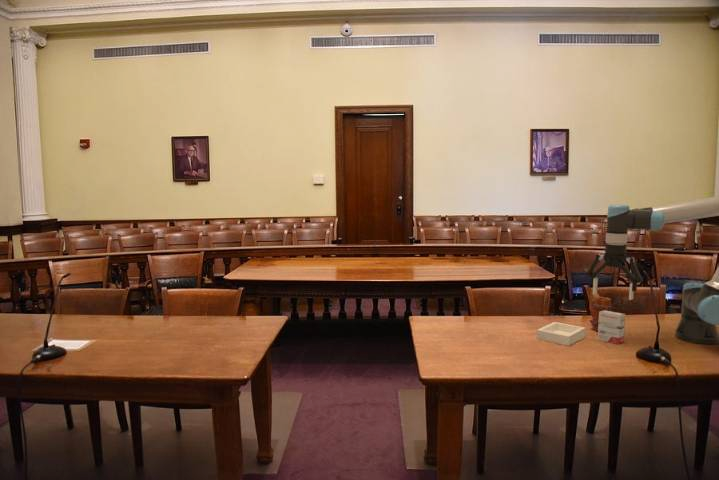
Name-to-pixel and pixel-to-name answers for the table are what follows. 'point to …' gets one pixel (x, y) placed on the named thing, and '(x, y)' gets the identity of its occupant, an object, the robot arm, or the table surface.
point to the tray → (561, 333)
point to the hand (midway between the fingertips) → (612, 296)
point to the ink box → (611, 327)
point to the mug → (598, 308)
